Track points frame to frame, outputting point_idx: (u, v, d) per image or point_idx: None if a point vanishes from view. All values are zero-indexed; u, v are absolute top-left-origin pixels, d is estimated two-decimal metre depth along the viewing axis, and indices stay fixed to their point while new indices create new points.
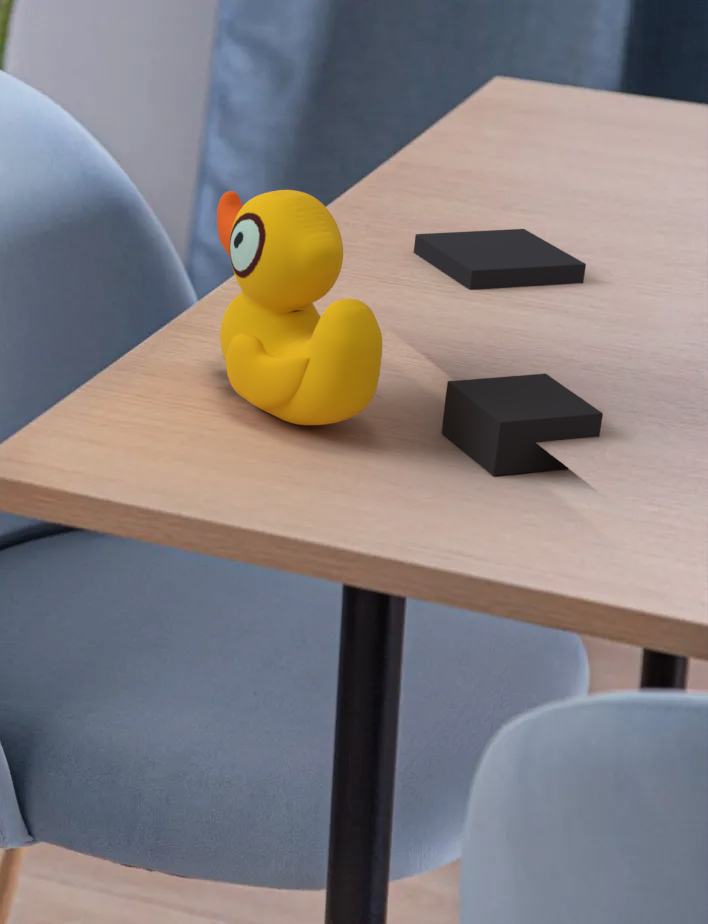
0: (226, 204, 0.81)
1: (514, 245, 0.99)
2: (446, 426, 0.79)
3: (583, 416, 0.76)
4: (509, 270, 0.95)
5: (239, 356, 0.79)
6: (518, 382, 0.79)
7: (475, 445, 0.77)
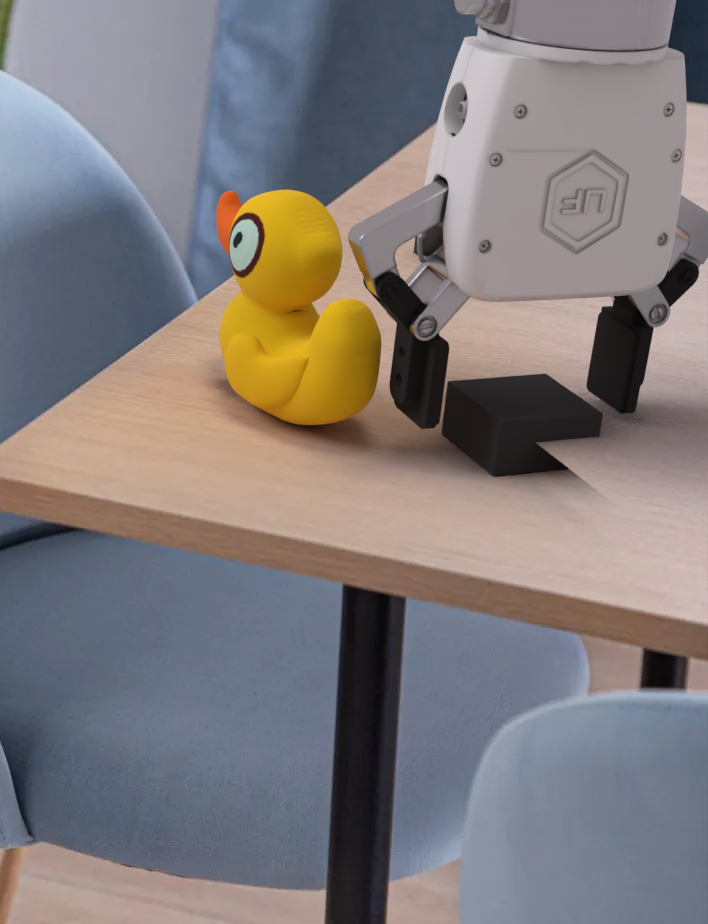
0: (226, 204, 0.81)
1: None
2: (446, 426, 0.79)
3: (583, 416, 0.76)
4: None
5: (238, 356, 0.79)
6: (518, 382, 0.79)
7: (475, 445, 0.77)
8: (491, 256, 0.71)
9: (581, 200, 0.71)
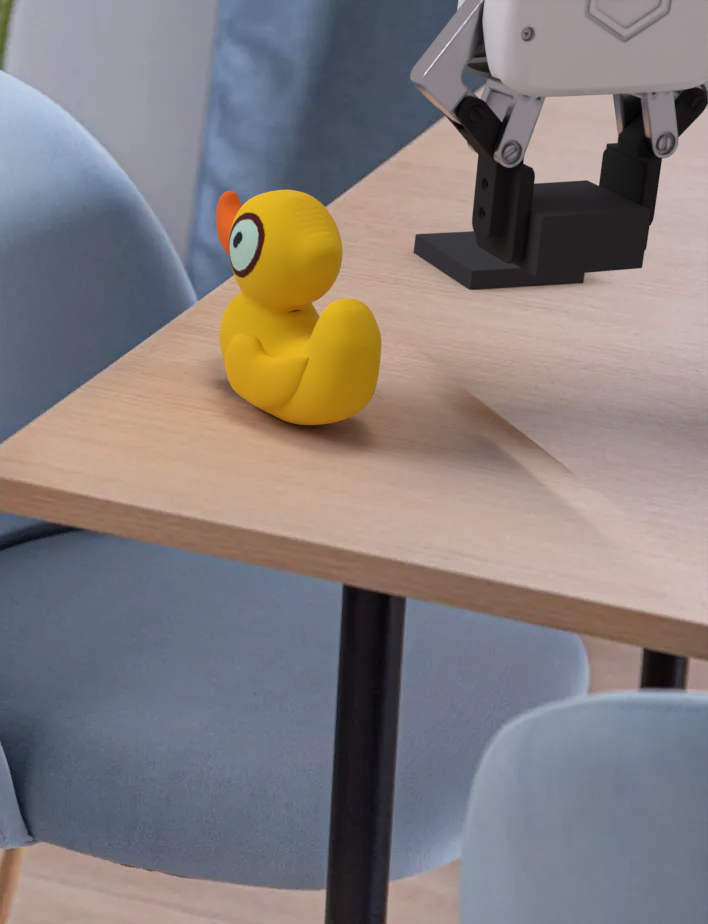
0: (226, 204, 0.81)
1: None
2: None
3: (629, 213, 0.72)
4: (509, 270, 0.95)
5: (238, 356, 0.79)
6: (559, 187, 0.75)
7: None
8: (535, 45, 0.67)
9: None
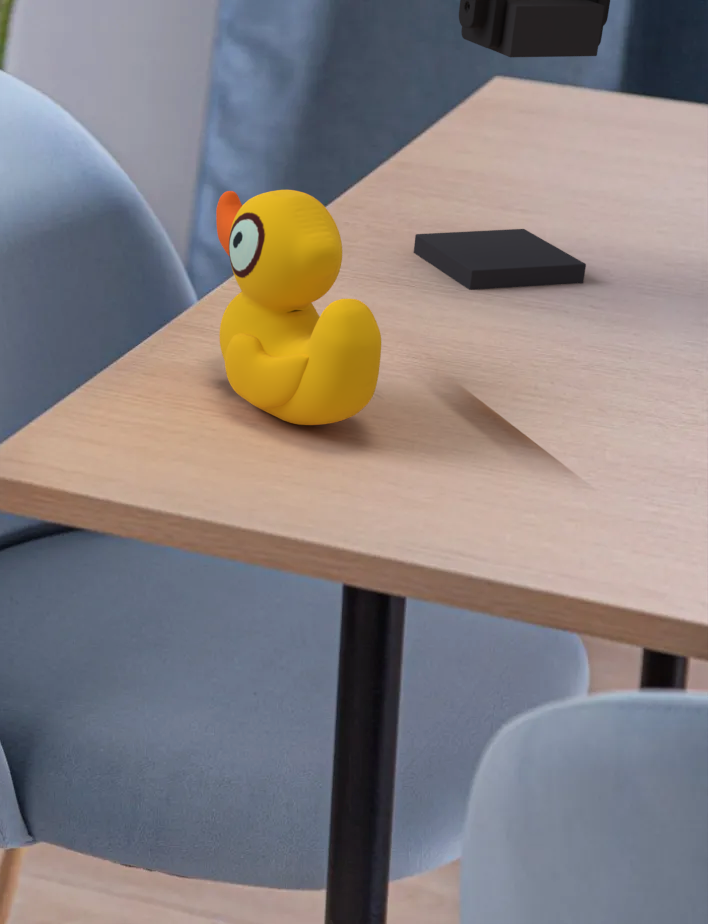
0: (225, 204, 0.81)
1: (514, 245, 0.99)
2: None
3: (587, 7, 0.88)
4: (509, 270, 0.95)
5: (238, 356, 0.79)
6: None
7: None
8: None
9: None
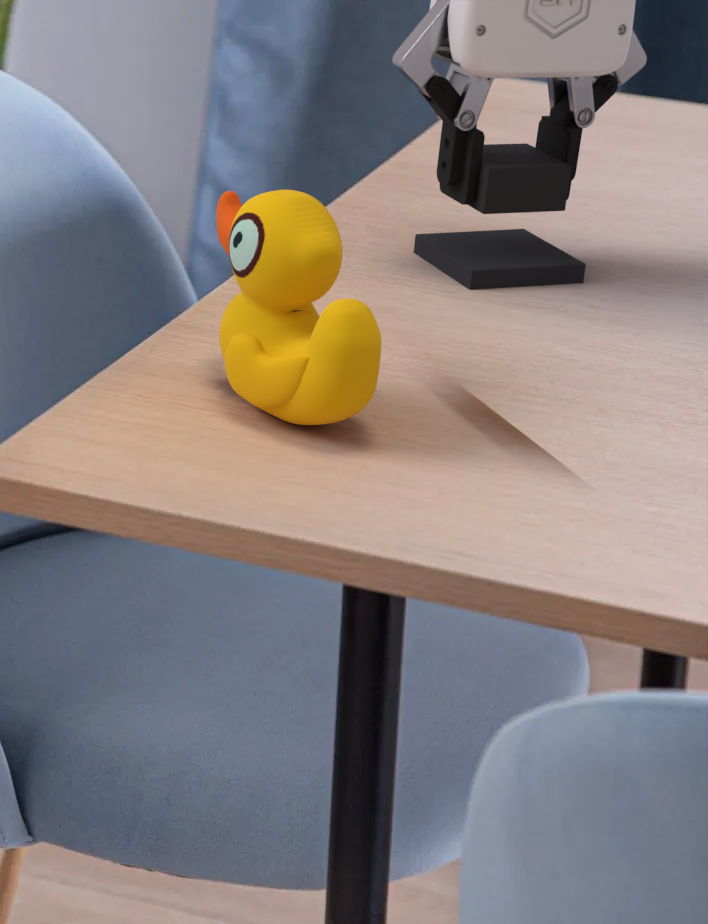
0: (225, 204, 0.81)
1: (514, 245, 0.99)
2: None
3: (555, 167, 0.94)
4: (509, 270, 0.95)
5: (238, 356, 0.79)
6: (504, 147, 0.98)
7: None
8: (486, 38, 0.90)
9: None
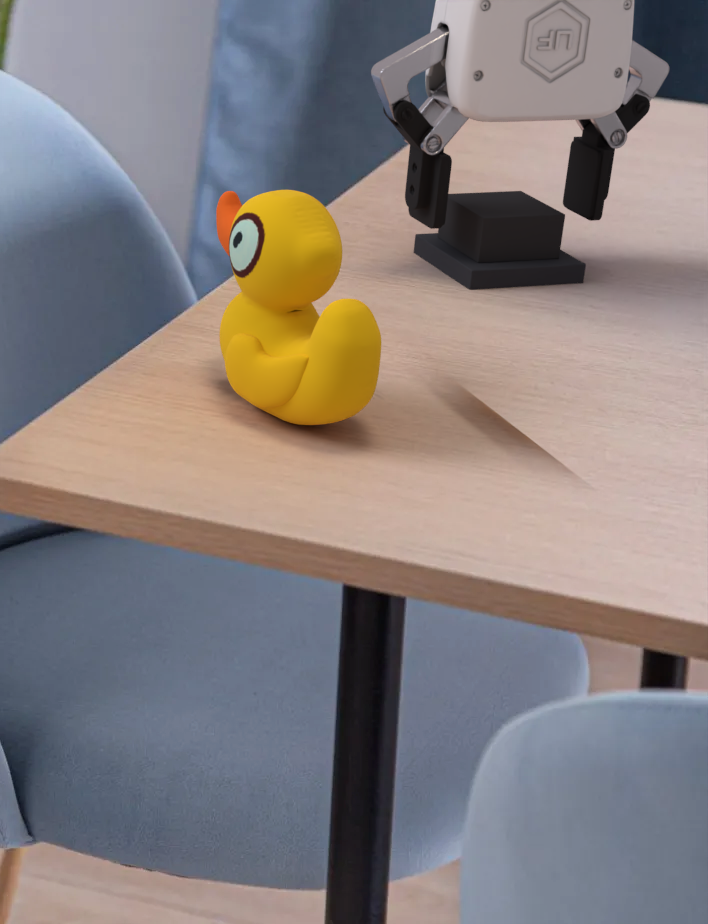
0: (225, 204, 0.81)
1: None
2: (441, 231, 0.99)
3: (549, 216, 0.96)
4: (509, 270, 0.95)
5: (238, 356, 0.79)
6: (498, 195, 0.99)
7: (464, 241, 0.97)
8: (483, 83, 0.90)
9: (553, 39, 0.91)
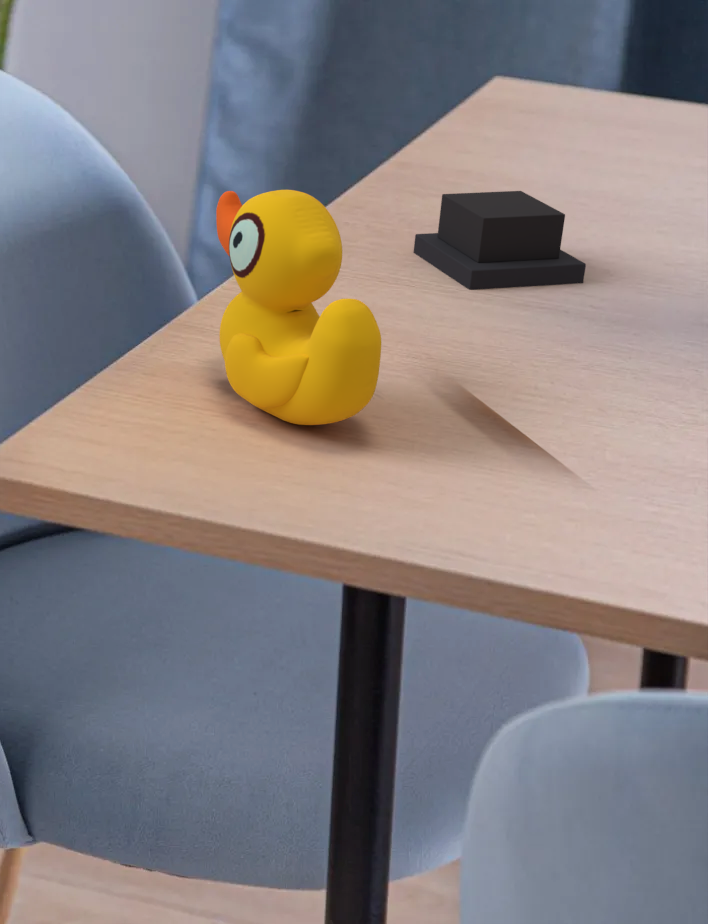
0: (225, 204, 0.81)
1: None
2: (441, 231, 0.99)
3: (549, 216, 0.96)
4: (509, 270, 0.95)
5: (238, 356, 0.79)
6: (498, 195, 0.99)
7: (464, 241, 0.97)
8: None
9: None
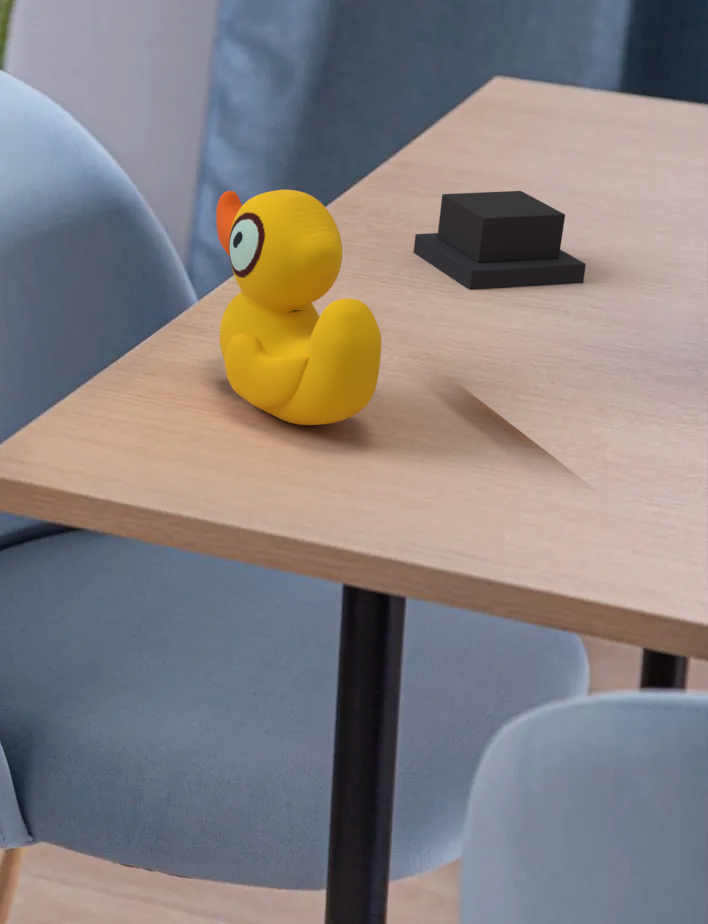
0: (226, 204, 0.81)
1: None
2: (441, 231, 0.99)
3: (549, 216, 0.96)
4: (509, 270, 0.95)
5: (238, 356, 0.79)
6: (498, 195, 0.99)
7: (464, 241, 0.97)
8: None
9: None
